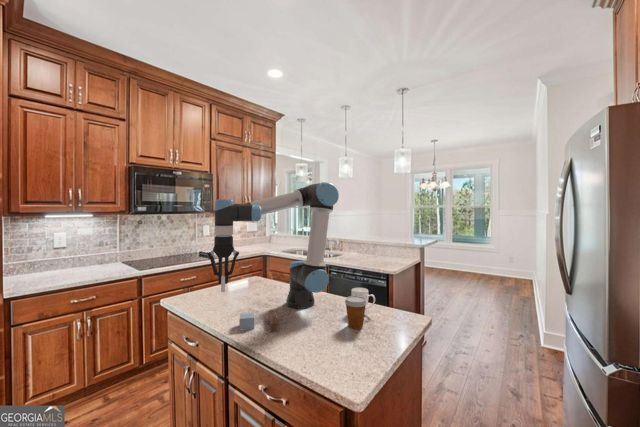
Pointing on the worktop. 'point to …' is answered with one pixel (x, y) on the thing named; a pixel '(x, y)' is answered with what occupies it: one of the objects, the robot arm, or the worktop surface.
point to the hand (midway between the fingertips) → (223, 291)
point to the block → (246, 321)
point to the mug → (362, 294)
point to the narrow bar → (273, 321)
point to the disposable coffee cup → (355, 311)
